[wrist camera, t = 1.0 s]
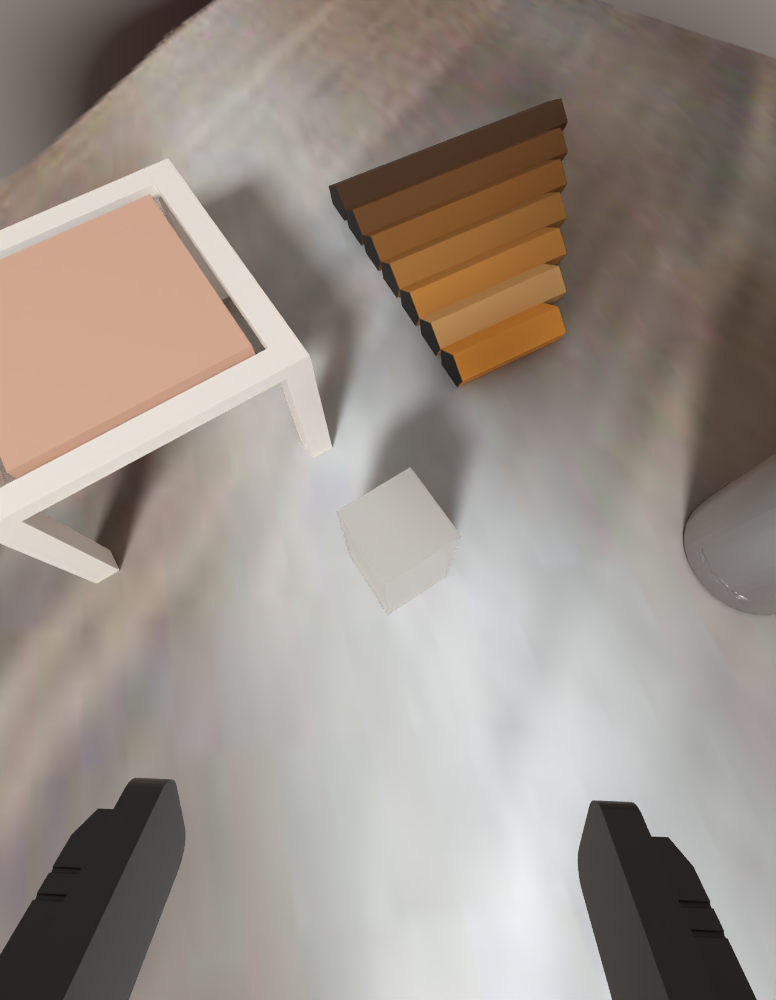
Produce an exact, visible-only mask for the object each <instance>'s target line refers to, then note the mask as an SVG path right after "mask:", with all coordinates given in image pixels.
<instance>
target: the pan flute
mask: <svg viewBox="0 0 776 1000" xmlns="http://www.w3.org/2000/svg"><path fill="white" fill-rule="evenodd" d="M567 122H568V121H567V118H566V114H565V110H564V106H563V103H562V99H561V98H560V99H556V100H552V101H548V102H545V103H543V104H540V105H538V106H535V107H533V108H530V109H527V110H525V111H522V112H520V113H517V114H514V115H512V116H509V117H507V118H504V119H501V120H499V121H496V122H494V123H491V124H488V125H486V126H483V127H481V128H478V129H476V130H473V131H470V132H468V133H465V134H463V135H460V136H457V137H455V138H452V139H450V140H447V141H444V142H442V143H439V144H437V145H434V146H431V147H429V148H426V149H424V150H421V151H419V152H416V153H413V154H411V155H408V156H406V157H403V158H400V159H398V160H395V161H393V162H390V163H387V164H385V165H382V166H380V167H377V168H374V169H372V170H369V171H367V172H364V173H361V174H359V175H356V176H354V177H351V178H349V179H346V180H343V181H341V182H338V183H336V184H333V185H330V186H329V189H330V193H331V198H332V202H333V205H334V206H335V208H336V209H337V210H338V212H339V213H340V215H341V216H342V218H343V219H344V221H345V220H348V225H349V228H350V230H351V231H352V233H353V234H354V236H355V237H356V239H357V240H358V241H359V243H360V244H361V245H363V244H364V245H365V250H366V253H367V255H368V256H369V258H370V259H371V261H372V262H373V264H374V265H375V267H376V268H377V270H378V271H380V270H382V272H383V278H384V280H385V281H386V283H387V284H388V286H389V287H390V289H391V290H392V292H393V293H394V295H395V296H396V298H398V297H400V296H401V302H402V306H403V308H404V309H405V311H406V312H407V314H408V315H409V317H410V318H411V320H412V321H413V323H414V324H415V326H418V325H420V326H421V334H422V336H423V337H424V339H425V340H426V342H427V343H428V345H429V346H430V348H431V349H432V351H433V352H434V354H435V355H436V356H437V355H440V354H441V359H442V366H443V367H444V368H445V370H446V371H447V373H448V374H449V376H450V377H451V379H452V380H453V382H454V383H455V385H456V386H457V387H459V386H461V385H464V384H466V383H468V382H470V381H472V380H474V379H476V378H478V377H481V376H483V375H485V374H487V373H489V372H491V371H493V370H495V369H498V368H500V367H502V366H504V365H506V364H508V363H510V362H512V361H514V360H517V359H519V358H521V357H523V356H525V355H527V354H529V353H531V352H534V351H536V350H538V349H540V348H542V347H544V346H546V345H548V344H551V343H553V342H555V341H557V340H558V339H559V338H561V337H562V336H563V335H564V334H565V333H566V330H565V327H564V324H563V320H562V317H561V314H560V310H559V307H558V306H554V305H550V304H551V303H553V302H556V301H558V300H559V299H560V298H561V297H562V296H563V295H564V294H565V293H566V288H565V285H564V281H563V278H562V275H561V271H560V268H559V266H556V265H555V264H557V263H559V262H560V261H561V259H562V258H563V257H564V256H565V255H566V254H567V252H566V249H565V245H564V242H563V238H562V235H561V232H560V228H559V227H560V226H561V225H562V223H563V222H564V221H565V219H566V218H567V215H566V212H565V208H564V205H563V201H562V198H561V192H562V191H563V189H564V188H565V186H566V185H567V181H566V177H565V174H564V170H563V166H562V163H561V161H562V160H563V158H564V157H565V155H566V153H567V148H566V145H565V141H564V137H563V134H562V131H563V129H564V128H565V126H566V124H567Z"/></svg>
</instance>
